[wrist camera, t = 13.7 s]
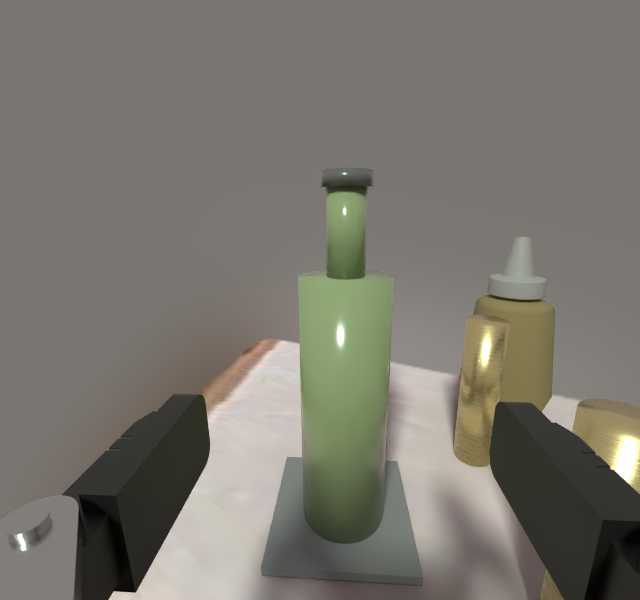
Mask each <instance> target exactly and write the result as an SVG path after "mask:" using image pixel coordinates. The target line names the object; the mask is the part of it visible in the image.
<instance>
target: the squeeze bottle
mask: <svg viewBox="0 0 640 600" xmlns="http://www.w3.org/2000/svg"><path fill="white" fill-rule="evenodd" d="M546 285H547V280H546V279H545V278H541V277H536V276H534V270H533V261H532V251H531V241H530V237H515V239H514V242H513V245H512V247H511V250H510V253H509V255H508V258H507V261H506V264H505V266H504V269H503V272H502V274H493V275H490V277H489V284H488V293H490V295H486V296H483V297H481V298H480V299H478V300H477V301H476V305H475V309H474V314H473V315H487V316H494V317H499V318H502V319H505V320H507V321H509V322H510V327H509V335H508V342H507V350H506V357H505V365H504V372H503V380H502V387H501V395H500V402H530V403H532V404H534V405H535V406H536V407H537V408H538V409H539V410H540V411H541V412H542V410H543V409H544V407H545V406H546V404H547V403H548V401H549V400H550V399H551V397H552V375H553V349H554V325H555V310H554V308H553V307H552V306H551V305H550V304H549V303H547V302H546V301H543V300H541V299H542V298H544V297H545V292H546ZM461 371H462V368H461ZM459 378H460V381H461V373H460V377H459Z"/></svg>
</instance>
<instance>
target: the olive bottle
mask: <svg viewBox="0 0 640 600" xmlns="http://www.w3.org/2000/svg"><path fill="white" fill-rule="evenodd" d="M373 174H374V171H373V170H371V169H364V168H337V169H327V170H323V171H321V188H323V189H326V270H318V271H311V272H306V273H303V274H300V275H299V277H298V284H299V285H298V286H299V329H300V330H299V331H300V376H301V421H302V466H303V510H304V516H305V519H306V521H307V523H308V525H309V527H310V528H311V529H312V530H313V531H314V532H315V533H316V534H317V535H319V536H320V537H322V538H324V539H325V540H328V541H330V542H334V543H339V544H352V543H357V542H360V541H363V540H365V539H367V538H369V537H370V536H371V535H373V534H374V533H375V532H376V530H377V529H378V528H379V526H380V524H381V521H382V517H383V501H384V480H385V459H386V438H387V417H388V396H389V374H390V353H391V332H392V311H393V290H394V276H392V275H391V274H388V273H385V272H380V271H372V270H365V260H366V258H365V257H366V223H367V222H366V221H367V189H368V188H373Z"/></svg>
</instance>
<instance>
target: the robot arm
mask: <svg viewBox="0 0 640 600" xmlns="http://www.w3.org/2000/svg"><path fill="white" fill-rule="evenodd" d="M209 451H210V438H209V429H208V420H207V412H206V403H205V399H204V397H203V395H200V394H174V395H172V396H171V397H170V398H169V399H168V401H166V402H165V404H164V405H163V406H162V407H161V408H160V409H159V410H158V411H157V412H152V413H150V414H148V415H147V416H145V417H143V418H142V419H140V420H139V421H137V422H135V423H134V424H133V425H132V426H131V427H130V428H129V429H128V430H127V431H126V432H125V433H124V434H123V435H122V436H121V438H120V439H118V440H117V441H116V442H115V443H114V444H113V445H112V446H111V447H110V448H109V451H105V453H104V454H103V455H101V456H100V457H99V458H98V460H96V462H94V463H93V464H92V465H91V466H90V468H88V469H87V470H86V471H85V473H83V474H82V475H81V476H80V477H79V478H78V479H77V480H76V481H75V482H74V483H73V484H72V485H71V486H70V487H69V488H68V489H67V490H66V491H65V492H64V493H63V494H62V495H61V496H60V495H58V496H50V497H46V498H42V499H39V500H36V501H33V502H31V503H29V504H26V505H24V506H22V507H20V508H18V509H17V510H15V511H13V512H12V513H10V514H8V515H7V516H5V517H4V518H3V519H1V520H0V600H108V599H109V598H110V596H111V594H112V593H113V591H120V592H135V593H136V591H137V589H138V587H139V586H140V584H141V582H142V580H143V578H144V577H145V575H146V573H147V571H148V569H149V568H150V566H151V564H152V562H153V560H154V558H155V557H156V555H157V553H158V551H159V549H160V548H161V546H162V544H163V542H164V540H165V539H166V537H167V535H168V533H169V531H170V529H171V528H172V526H173V524H174V522H175V520H176V519H177V517H178V515H179V513H180V511H181V510H182V508H183V506H184V504H185V502H186V500H187V499H188V497H189V495H190V493H191V491H192V490H193V488H194V486H195V484H196V482H197V481H198V479H199V477H200V475H201V473H202V471H203V470H204V468H205V466H206V463H207V461H208V457H209ZM489 457H490V465H491V469H492V472H493V475H494V477H495V479H496V481H497V483H498V485H499V486H500V488H501V490H502V492H503V493H504V495H505V497H506V499H507V501H508V502H509V504H510V506H511V508H512V509H513V511H514V513H515V515H516V516H517V518H518V520H519V522H520V523H521V525H522V527H523V529H524V530H525V532H526V534H527V536H528V537H529V539H530V541H531V543H532V544H533V546H534V548H535V550H536V551H537V553H538V555H539V557H540V558H541V560H542V562H543V564H544V565H545V567H546V569H547V571H548V572H549V574H550V576H551V578H552V580H553V581H554V583H555V585H556V587H557V588H558V590H559V592H560V594H561V595H562V597H563V599H564V600H640V494H639V493H638V492H637V491H636V490H635V489H634V488H633V487H632V486H631V485H630V484H628V483H627V482H626V481H625V480H624V479H623V478H622V477H621V476H620V475H619V474H618V473H617V472H616V471H615V470H611V468H610V466H609V465H608V464H607V463H606V462H605V461H604V460H603V459H602V458H601V457H600V456H598V455H596V453H595V451H594V450H593V449H592V448H590V447H589V446H588V445H587V444H586V443H585V442H584V441H583V440H582V439H581V438H580V437H579V436H577V435H576V434H574V433H572V432H571V431H569V430H567V429H566V428H564V427H562V426H561V425H559V424H557V423H552V422H551V421H550V420H549V419H548V418H547V417H546V416H545V415H544V414H543V413H542V412H541V411H540V410H539V409H538V408H537V407H536V406H535V405H534V404H532V403H530V402H498V403H497V405H496V407H495V412H494V420H493V428H492V436H491V444H490V452H489Z"/></svg>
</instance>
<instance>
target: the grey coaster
mask: <svg viewBox="0 0 640 600" xmlns="http://www.w3.org/2000/svg"><path fill="white" fill-rule="evenodd" d="M261 569H262V575H267V576H282V577H297V578H313V579H328V580H344V581H359V582H374V583H390V584H405V585H421V586H422V578H423V577H422V572H421V568H420V563H419V559H418V554H417V549H416V545H415V540H414V536H413V531H412V527H411V522H410V518H409V513H408V508H407V504H406V499H405V495H404V490H403V486H402V481H401V477H400V472H399V467H398V463H397V461H385V480H384V501H383V517H382V521H381V524H380V526H379V528H378V529H377V530H376V532H375V533H374V534H373V535H371V536H370V537H369V538H367V539H365V540H363V541H360V542H357V543H352V544H339V543H334V542H330V541H328V540H325V539H324V538H322V537H320V536H319V535H317V534H316V533H315V532H314V531H313V530H312V529H311V528H310V527H309V525H308V523H307V521H306V519H305V516H304V510H303V466H302V458H298V457H287V460H286V464H285V469H284V473H283V477H282V481H281V486H280V490H279V494H278V498H277V503H276V507H275V511H274V515H273V520H272V524H271V528H270V532H269V537H268V541H267V545H266V549H265V554H264V558H263V562H262V566H261Z"/></svg>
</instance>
